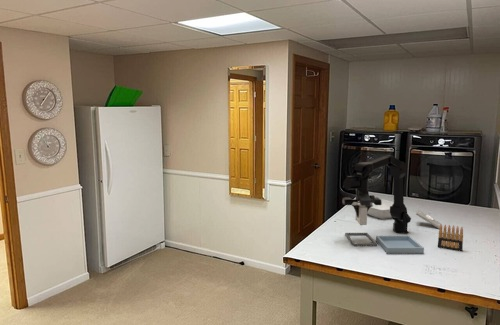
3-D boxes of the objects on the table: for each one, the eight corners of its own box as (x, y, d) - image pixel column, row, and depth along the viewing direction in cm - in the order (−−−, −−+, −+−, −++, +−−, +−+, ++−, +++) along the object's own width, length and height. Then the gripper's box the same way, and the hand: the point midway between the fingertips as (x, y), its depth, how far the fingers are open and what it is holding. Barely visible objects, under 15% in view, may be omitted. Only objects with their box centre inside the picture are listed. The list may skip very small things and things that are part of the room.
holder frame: (367, 234, 202) (367, 232, 202) (377, 246, 186) (377, 244, 185) (345, 234, 203) (345, 232, 202) (353, 246, 186) (353, 244, 186)
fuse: (361, 219, 197) (362, 203, 196) (366, 225, 188) (367, 207, 187) (355, 219, 197) (356, 203, 196) (360, 225, 188) (360, 207, 187)
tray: (409, 241, 192) (409, 235, 192) (423, 254, 175) (423, 247, 175) (375, 241, 192) (376, 235, 192) (387, 254, 176) (387, 247, 175)
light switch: (441, 226, 210) (417, 211, 215) (435, 234, 212) (411, 219, 218) (442, 222, 217) (419, 208, 223) (436, 230, 219) (413, 216, 225)
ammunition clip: (462, 250, 179) (464, 226, 178) (462, 251, 178) (464, 227, 176) (437, 246, 185) (439, 222, 183) (437, 247, 183) (438, 223, 182)
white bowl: (380, 221, 226) (380, 209, 225) (358, 213, 244) (358, 202, 243) (405, 217, 234) (406, 205, 233) (382, 209, 252) (382, 198, 251)
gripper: (347, 191, 182) (346, 222, 185) (386, 191, 182) (384, 222, 184) (342, 186, 193) (341, 215, 196) (378, 186, 193) (377, 215, 195)
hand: (361, 217), depth 192 cm, fingers closed on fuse, 3 cm apart
